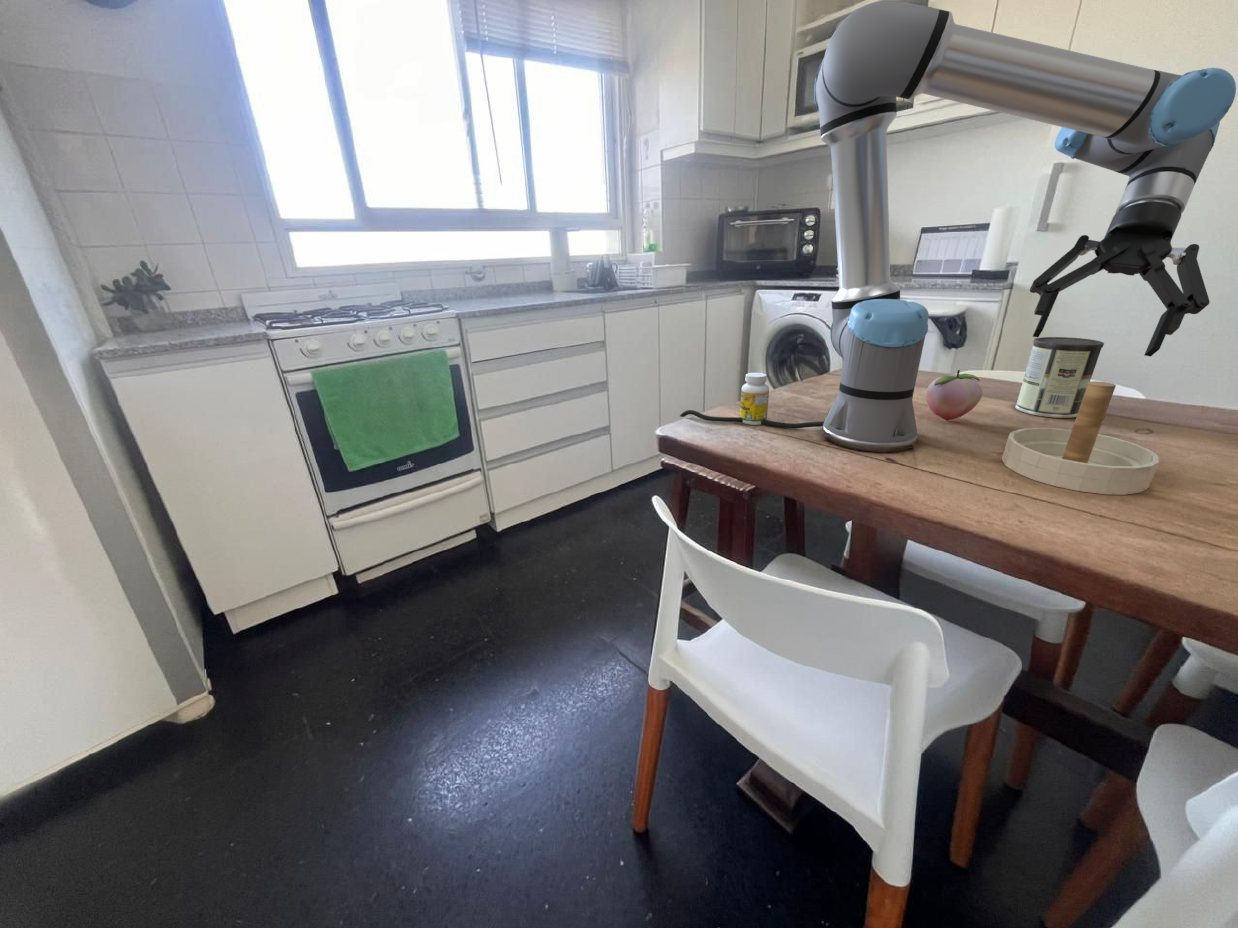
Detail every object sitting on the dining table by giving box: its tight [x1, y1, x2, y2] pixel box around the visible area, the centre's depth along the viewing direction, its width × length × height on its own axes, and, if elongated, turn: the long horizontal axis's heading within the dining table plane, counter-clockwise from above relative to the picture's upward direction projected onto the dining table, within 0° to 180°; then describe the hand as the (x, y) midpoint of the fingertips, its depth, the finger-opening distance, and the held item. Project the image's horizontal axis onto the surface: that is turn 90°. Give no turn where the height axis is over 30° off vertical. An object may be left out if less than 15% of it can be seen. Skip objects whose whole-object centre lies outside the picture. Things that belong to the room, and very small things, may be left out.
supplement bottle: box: [739, 372, 770, 426], centre depth 98 cm, size 5×5×10 cm
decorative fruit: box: [925, 369, 983, 421], centre depth 95 cm, size 9×8×10 cm
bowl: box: [1001, 427, 1160, 496], centre depth 72 cm, size 16×16×4 cm
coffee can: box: [1014, 336, 1105, 419], centre depth 98 cm, size 10×10×14 cm
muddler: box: [1061, 380, 1117, 464], centre depth 70 cm, size 5×5×13 cm
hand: (1091, 342), depth 75 cm, fingers open, 13 cm apart
